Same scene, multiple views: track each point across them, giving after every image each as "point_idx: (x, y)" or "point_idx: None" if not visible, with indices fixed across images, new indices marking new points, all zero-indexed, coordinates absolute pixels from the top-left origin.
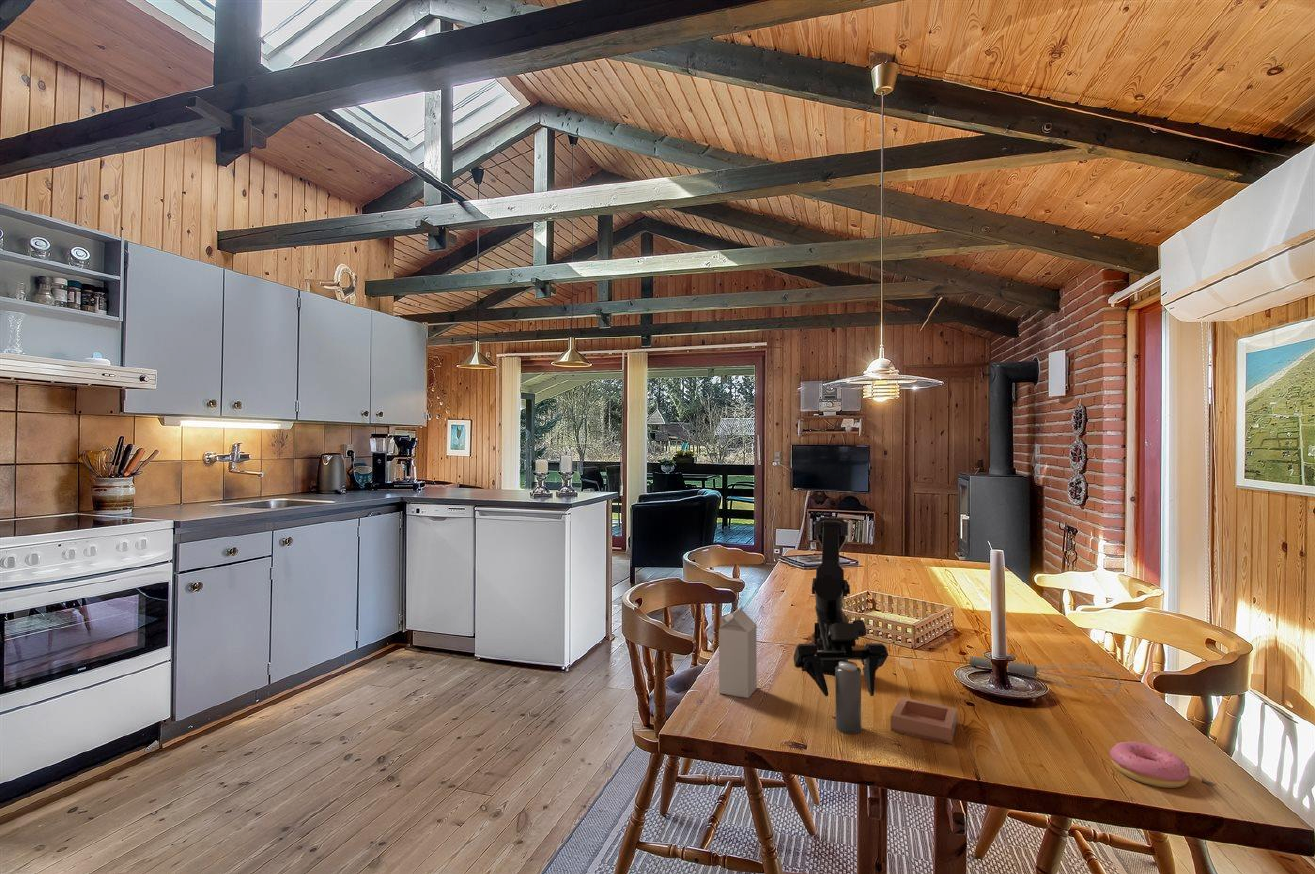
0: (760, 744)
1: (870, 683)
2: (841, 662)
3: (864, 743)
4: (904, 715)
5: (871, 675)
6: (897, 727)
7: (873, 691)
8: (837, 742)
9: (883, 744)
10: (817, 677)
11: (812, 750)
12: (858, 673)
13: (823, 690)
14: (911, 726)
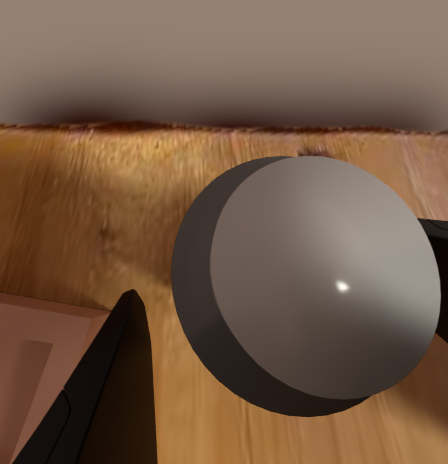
0: (376, 145)
1: (123, 326)
2: (411, 282)
3: (186, 212)
4: None
5: (88, 386)
6: (88, 310)
7: (121, 299)
8: None
9: (142, 221)
10: None
11: (286, 150)
12: (196, 200)
13: None
14: (37, 303)
